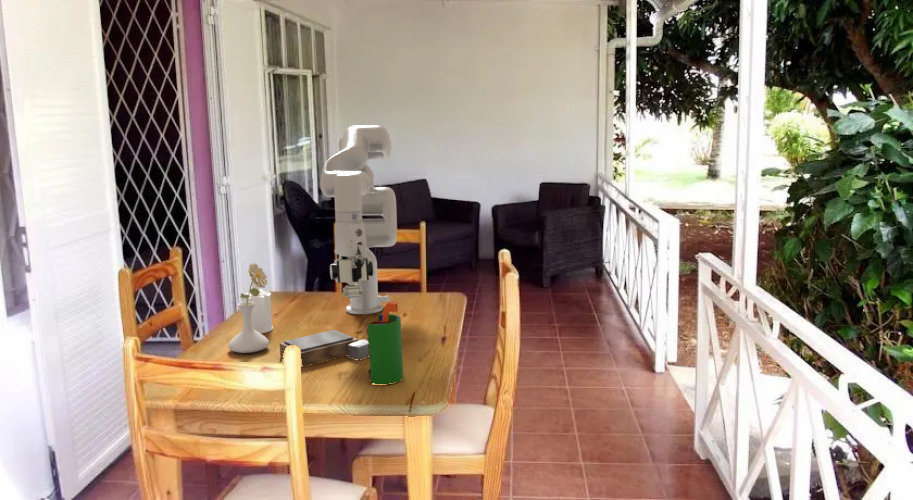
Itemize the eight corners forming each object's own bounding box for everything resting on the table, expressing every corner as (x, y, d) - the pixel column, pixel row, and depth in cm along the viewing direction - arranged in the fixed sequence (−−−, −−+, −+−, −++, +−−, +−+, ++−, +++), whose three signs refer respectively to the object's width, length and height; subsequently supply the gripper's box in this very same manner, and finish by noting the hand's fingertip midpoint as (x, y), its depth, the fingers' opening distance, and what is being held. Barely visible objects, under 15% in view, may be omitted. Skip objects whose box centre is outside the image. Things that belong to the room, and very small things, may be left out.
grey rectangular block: (363, 352, 207) (362, 339, 207) (373, 355, 205) (373, 341, 204) (348, 358, 203) (348, 344, 202) (359, 361, 200) (358, 347, 200)
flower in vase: (247, 358, 203) (242, 270, 198) (220, 352, 209) (213, 266, 204) (282, 346, 214) (277, 262, 209) (254, 340, 220) (249, 258, 215)
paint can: (236, 330, 230) (232, 268, 226) (262, 324, 237) (258, 263, 233) (255, 337, 223) (251, 273, 219) (281, 330, 230) (277, 268, 226)
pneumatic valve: (374, 296, 210) (372, 254, 209) (333, 299, 206) (331, 257, 205) (371, 294, 215) (368, 253, 214) (331, 297, 212) (328, 256, 211)
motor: (368, 372, 191) (366, 298, 187) (403, 371, 192) (401, 296, 188) (367, 386, 181) (364, 308, 177) (403, 385, 182) (401, 306, 178)
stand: (336, 343, 216) (335, 328, 215) (358, 353, 207) (357, 337, 206) (280, 356, 204) (279, 341, 203) (301, 367, 195) (300, 351, 194)
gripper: (377, 218, 204) (379, 282, 207) (343, 213, 216) (345, 273, 219) (354, 221, 199) (357, 286, 202) (321, 215, 211) (324, 277, 215)
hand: (351, 278), depth 211 cm, fingers closed on pneumatic valve, 5 cm apart
